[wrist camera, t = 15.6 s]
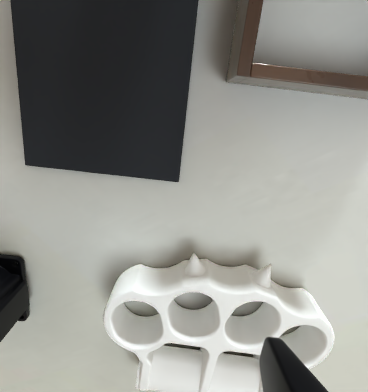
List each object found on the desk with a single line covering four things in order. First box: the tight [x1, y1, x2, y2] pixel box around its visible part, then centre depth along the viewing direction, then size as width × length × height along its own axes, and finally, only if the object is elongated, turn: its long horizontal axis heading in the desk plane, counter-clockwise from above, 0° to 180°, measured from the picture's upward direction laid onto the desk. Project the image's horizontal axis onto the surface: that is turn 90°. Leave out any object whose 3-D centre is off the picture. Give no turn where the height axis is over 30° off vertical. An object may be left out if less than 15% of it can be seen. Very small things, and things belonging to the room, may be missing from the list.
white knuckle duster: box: [103, 252, 334, 392], centre depth 22 cm, size 3×18×15 cm
